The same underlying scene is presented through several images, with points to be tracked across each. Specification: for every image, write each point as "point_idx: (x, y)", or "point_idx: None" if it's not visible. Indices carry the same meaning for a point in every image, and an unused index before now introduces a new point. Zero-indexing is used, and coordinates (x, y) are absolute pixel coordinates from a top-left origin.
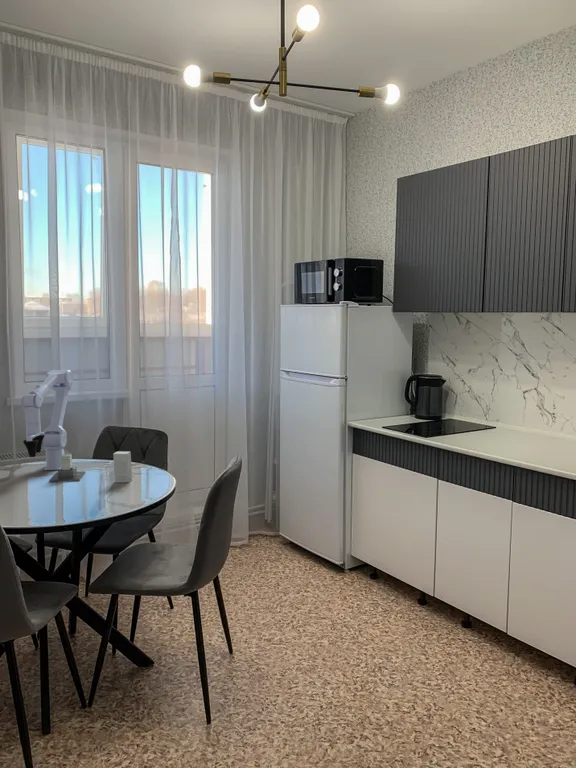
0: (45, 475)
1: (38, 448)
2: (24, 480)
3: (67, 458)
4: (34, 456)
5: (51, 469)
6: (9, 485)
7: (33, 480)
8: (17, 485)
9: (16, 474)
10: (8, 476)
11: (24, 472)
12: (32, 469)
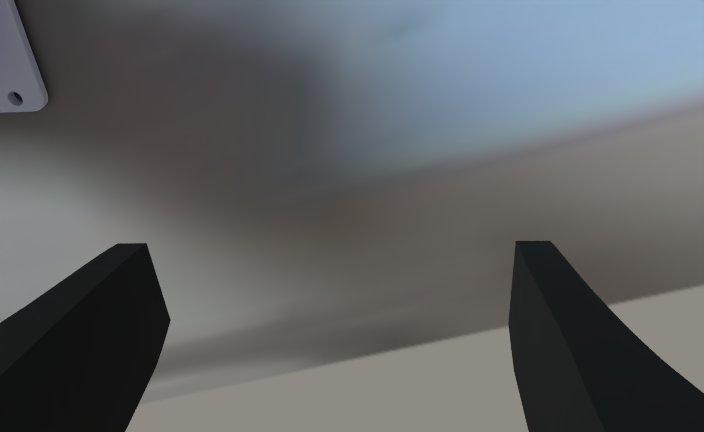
0: (263, 12)
1: (112, 324)
2: (467, 192)
3: None
4: (555, 252)
5: (13, 11)
6: (637, 277)
7: (489, 94)
8: (669, 206)
9: (226, 317)
10: (294, 358)
11: None
12: (29, 233)
